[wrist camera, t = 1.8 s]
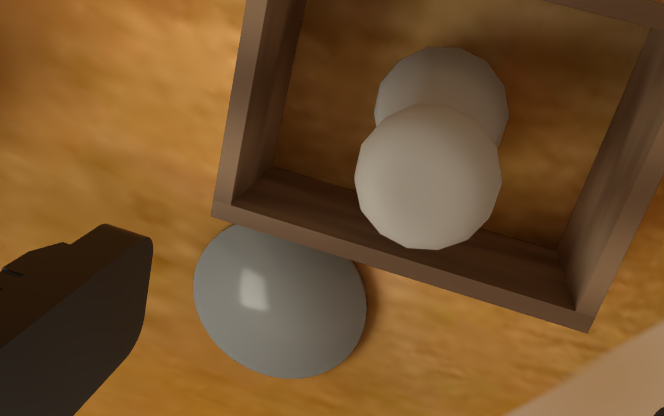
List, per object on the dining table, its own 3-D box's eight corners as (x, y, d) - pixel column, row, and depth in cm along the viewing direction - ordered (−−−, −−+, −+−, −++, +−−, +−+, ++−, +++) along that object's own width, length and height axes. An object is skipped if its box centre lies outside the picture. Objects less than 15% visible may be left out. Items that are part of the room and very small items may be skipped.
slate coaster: (211, 193, 33) (207, 196, 32) (388, 247, 32) (386, 251, 31) (186, 341, 37) (182, 347, 36) (343, 394, 36) (341, 400, 35)
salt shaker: (380, 159, 30) (321, 274, 19) (382, 41, 28) (318, 85, 16) (500, 164, 29) (521, 292, 17) (511, 41, 27) (543, 89, 15)
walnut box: (304, -81, 27) (262, -96, 22) (679, 13, 25) (736, 22, 20) (254, 175, 32) (210, 216, 27) (566, 269, 30) (587, 333, 25)
